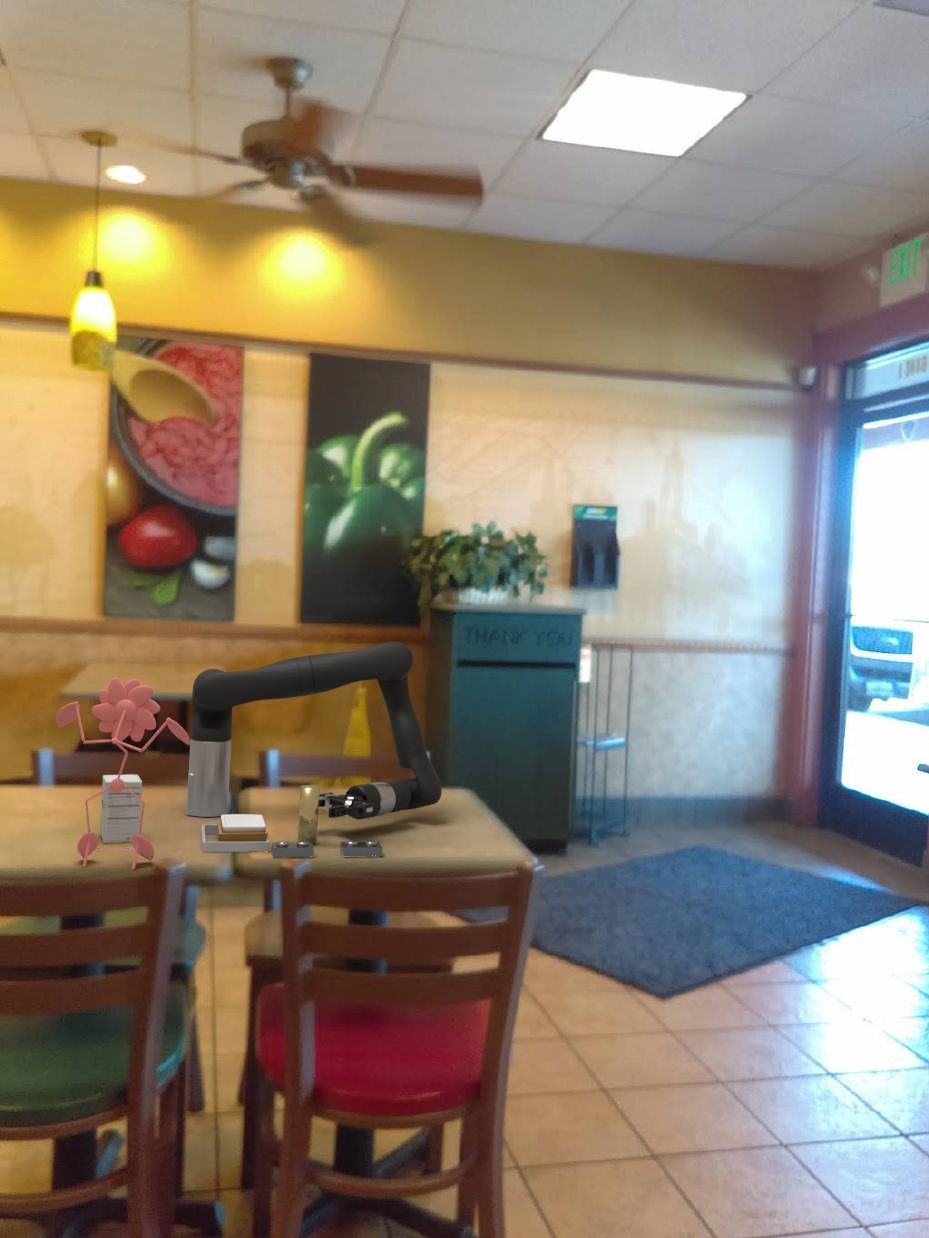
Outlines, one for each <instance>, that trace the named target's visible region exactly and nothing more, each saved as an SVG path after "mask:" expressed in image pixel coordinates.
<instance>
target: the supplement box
mask: <svg viewBox="0 0 929 1238" xmlns="http://www.w3.org/2000/svg"><path fill="white" fill-rule="evenodd" d="M118 775H119V774H104V775H102V786H101V787H102V788H101V791H103V790H105V789H107V788H109V787H110V783H111V781H112V780H114V779H116V778H118ZM120 779H121V780H123V781H124V783H125V787H126V788H127V789H128V790H130V791H131V792H132V793H134V794H135V795H137V796H138V797H139V798H141V799H142V800H143V798H142V797H143V781H142V779H141V777H140V776H139V775H138V774H121V776H120ZM142 803H143V802H142V801H140V800H139V799H137V798H136V797H135V796H133V795H132V794H131V793H129V792H128V791H126V790H125V789H123V791H121V792H119V793H115V792H113V791H111V789H109V790H107V791H105V792H104V793H102V794H101V803H100V805H101V806H100V822H99V823H100V827H99V835H100V836H101V838H102V842H103V843H104V844H113V843H115V844H117V843H132V837H133V836H134V835H136V836H137V834H138V835H139V829H140V821H141V813H142Z"/></svg>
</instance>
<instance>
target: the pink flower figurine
mask: <svg viewBox="0 0 929 1238" xmlns="http://www.w3.org/2000/svg"><path fill="white" fill-rule="evenodd" d="M140 684H141V683H140V680H139V679H138V678H132V679H129V680H128V681H127V682H126V683H125V684H124V683H123V682H122V680H120V679H119V677H113V678H112V679H111V681H110V682H109V684H108V688H107V689H103V688H102V689H101V690H99V693H98V696H99V702H100V703H99V704H95V705H94V706H92V708H91V709H90V711H91V713H92V714H93V715H94V717H96V718H97V719H99V720H101V721H100V722H99V723H98V731H100V732H102V733H111V739H95V740H94V739H93V740H86V739H85V734H84V733H85V732H84V729H83V728H84V727H83V724H82V719H81V714H80V713H81V706H80V705H79V702H78V701H74V702H69V703H67V704H65V705H64V706H62V707H61V708H60V709H59V710H58V711H57V713H56V716H55V722H56V725H57V727H58V728H59V729H60V728H62V727H65V726H67V725H69V724H72V723H73V722H74V721H75V720H77V724H78V729H79V733H80V737H81V738H80V739H81V741H82V744H83V745H86V744H101V743H102V744H103V743H112V744H113V745H116V746H117V747H118V748H120V749H121V751H123V752H124V756H123V759H122V762H121V765H120V768H119V772H118V774H117V775H118V778H116V779H114V780H112V781H111V783H110V787H109V788H107V789H105V790H103V791H102V790H101V791H100V792H97V793H96V794H93V795H92V796H90V797H88V798H87V799H85V800H84V801H85V804H84V805H85V812H86V823H87V833H85V834H83V835H82V836H81V837H80V839H79V840H78V842H77V851H75V853H79V854H80V856H81V857H82V858H83V862H82V868H83V867H84V868H86V867H87V863H88V862H87V861H88V857H89V856H90V855H92V853H93V852H94V851H96V850H97V851H100V850H102V848H101V847H99V848H98V846H99V841H100V840H99V837H98V834H97V833H95V832H94V831H92V832H91V827H90V817H89V815H90V814H89V808H88V807H89V805H88V802H89V801H90V800H92V799H94V798H95V797H97V796H99V795H102V793H104V792H105V791H107V790H109V789H111V791H113V792H115V793H119V792H121V791H123V789H125V790H126V791H128V792H129V793H131V794H132V795H133V796H135V797H136V798H137V799H139V800H140V801H142V802H141V803H142V804H141V821H140V829H139V835H138V834H137V836H136V835H134V836H133V837H132V842H131V844H132V846H133V847H132V848H129V847H125V850H134V853H133V859H132V863H131V864H132V865H131V869H132V870H135V868H136V863H137V858H138V854H139V856H141V857H143V858H144V859H146V860H148V861H150V862H152V861H153V859H154V856H155V849H154V845H153V844H152V843H151V842H150V841H149V840H148V839H147V838H146V837H145V836H144V835H142V827H143V819H144V812H145V806H146V805H145V800H143V798H142V799H141V798H139V797H138V796H137V795H135V794H134V793H132V792H131V791H130V790H128V789H127V788H126V787H125V783H124V781H123V780H121V779H120V776H121V775H122V773H123V770H124V767H125V764H126V762H127V759H128V755H129V751H128V750H127V749H126V748H129V749H131V750H134V751H137V752H139V753H141V754H143V752H144V751H146V749H147V748H148V747H149V746H150V745H151V744H152V742H153V741H154V740H155V739H156V737H158V735H159V734H160V733H161V732H162V731H163V729H165V727H166V726H167V727H168V729H169V730H170V732H171V733H172V734H173V735H174V736H175V737H176V738H177V739H179V740H180V741H182V742H183V743H184V744H186V745H187V746H190V739H191V738H190V736H189V734H188V733H187V731H186V730H185V729H184V728H183V727H182V726H181V724H179V723H178V722H177V721H176V720H174V719H171V718H170V717H167V718H166V720H165V721H164V722H163V724H162V725H161V726H159V729H158V730H157V731H156V732H155V733H154V734H153V736H152V737H150V739H149V740H148V742H146V743H145V745H144V746H142V748H140V747H136V746H133V745H131V744H129V743H126V742H123V741H124V740H125V739H126V738H128V737H130V738H131V740H132V741H133V742H136V743H137V742H141V740H142V739H143V737H144V735H145V730H147V731H153V730H155V729H157V722H156V718H155V716H154V715H155V714H157V713H159V712H160V711H161V706H160V704H159V703H158V702H156V701H155V700H153V699H151V696H153V694H154V688H153V687H152V686H150V685H147V684H146V685H144V684H143V685H140ZM125 747H126V748H125ZM107 850H123V847H120V848H119V847H118V848H112V847H111V848H107Z"/></svg>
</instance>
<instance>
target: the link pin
mask: <svg viewBox="0 0 929 1238" xmlns="http://www.w3.org/2000/svg"><path fill="white" fill-rule="evenodd" d="M299 787H300V789H299V791H300V792H299V806H298V807H299V808H298V809H299V810H298V824H297V825H298V827H297V841H308V842H311V843H312V845H313V846H316V845H317V844H316V843H318V824H319V809H318V808H319V794H320V786H318V785H313V784H306V785H305V784H304V785H300V786H299ZM315 844H316V845H315Z"/></svg>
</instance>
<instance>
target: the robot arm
mask: <svg viewBox="0 0 929 1238" xmlns="http://www.w3.org/2000/svg"><path fill="white" fill-rule="evenodd" d="M413 665H414V654H413V652H412V650H411V648H409V647H408V646H407V645H405V644H403V642H399V641H387V642H384V643H381V644H378V645H373V646H369V647H366V648H361V649H357V650H351V651H341V652H339V651H338V652H329V653H328V652H326V653H319V654H309V655H304V656H297V657H291V658H287V659H282V660H279V661H276V662H273V663H270V664H267V665H264V666H261V667H257V668H254V669H248V670H238V671H236V670H235V671H223V670H221V669H219V668H209V669H205V670H204V671H202V672H200V673H199V674H198V675H197V676H196V678H195V679H194V682H193V686H192V695H191V697H192V698H191V714H190V715H191V717H190V736H189V739H190V744H189V761H188V762H189V764H188V772H187V773H188V777H187V792H186V793H187V794H186V795H187V797H186V798H187V799H186V816H193V817H202V818H204V817H206V818H207V817H208V818H213V817H214V818H215V817H221V815H227V814H228V810H229V795H230V794H229V792H230V791H229V790H230V772H231V771H230V770H231V769H230V768H231V755H232V754H231V753H232V736H233V735H232V734H233V707H236V706H240V705H245V704H249V703H252V702H258V701H267V700H268V701H269V700H270V701H271V700H283V699H292V698H297V697H298V698H299V697H304V696H306V697H307V696H312V695H317V694H321V693H325V692H328V691H333V690H335V689H339V688H341V687H344V686H347V685H350V684H353V683H358V682H361V681H364V682H365V681H373V680H376V681H377V683H378V687H379V689H380V691H381V694H382V697H383V699H384V703H385V706H386V709H387V714H388V718H389V723H390V728H391V733H392V738H393V742H394V748H395V751H396V756H397V761H398V765H399V766H400V768H401V769H404V770H406V769H407V770H411V771H412V773H413V774H414V776H415V777H413V778H409V779H405V780H402V781H401V780H391V781H384V782H383V781H382V782H378V781H377V782H370V783H362V784H356V785H355V784H354V785H352V786H351V787H349V789H347V791H346V793H338V794H334V792H332V791H331V792H326V793H325V792H324V793H319V808H318V810H322V809H323V810H325V811H326V812H328V817H329V819H335V818H342V817H345V818H348V817H350V818H352V819H354V820H364V819H369V818H375V817H380V816H383V815H386V814H390V813H396V812H401V811H407V810H415V809H419V808H424V807H428V806H432V805H435V804H437V803H438V802H439V801H440V799H441V797H442V793H443V789H442V787H443V786H442V783H441V780H440V778H439V776H438V774H437V772H436V770H435V767H434V766H433V764H432V762H431V760H430V758H429V755H428V751H427V747H426V743H425V739H424V735H423V730H422V728H421V724H420V722H419V719H418V717H417V715H416V712H415V709H414V705H413V703H412V699H411V695H410V690H409V688H410V687H409V679H408V677H409V676H408V674H409V673H410V671H411V670H412V667H413ZM329 806H330V807H329Z"/></svg>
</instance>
